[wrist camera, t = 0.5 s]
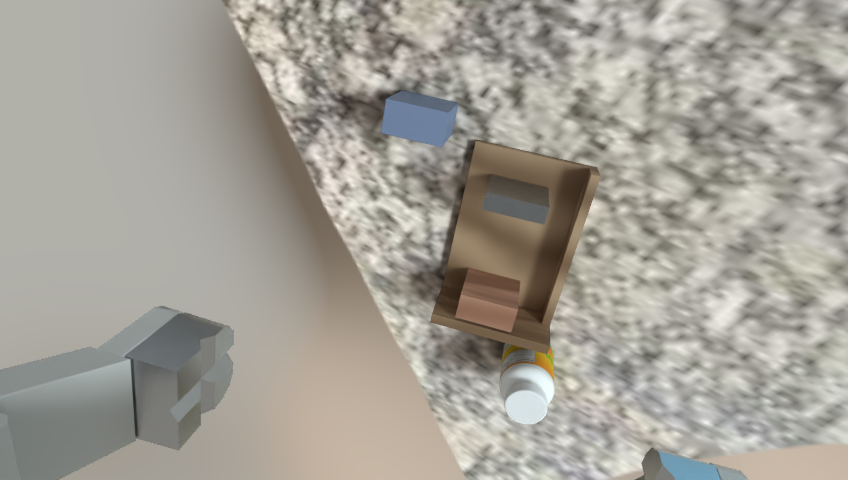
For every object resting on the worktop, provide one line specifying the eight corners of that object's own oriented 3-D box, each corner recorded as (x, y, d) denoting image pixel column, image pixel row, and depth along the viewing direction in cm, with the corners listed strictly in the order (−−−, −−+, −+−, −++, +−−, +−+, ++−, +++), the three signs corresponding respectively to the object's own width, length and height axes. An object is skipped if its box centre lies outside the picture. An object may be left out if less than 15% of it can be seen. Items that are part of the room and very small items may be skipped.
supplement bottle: (556, 367, 58) (559, 429, 49) (508, 371, 59) (502, 432, 51) (548, 326, 56) (550, 382, 47) (499, 331, 58) (491, 386, 49)
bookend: (491, 174, 50) (486, 192, 45) (548, 187, 49) (549, 207, 44) (488, 189, 51) (481, 209, 45) (543, 203, 50) (544, 224, 45)
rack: (476, 139, 50) (467, 155, 44) (596, 167, 49) (605, 188, 43) (442, 290, 57) (430, 322, 51) (546, 317, 56) (547, 354, 50)
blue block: (402, 90, 50) (386, 98, 44) (458, 102, 49) (448, 112, 44) (397, 121, 51) (381, 132, 46) (452, 133, 50) (441, 147, 45)
